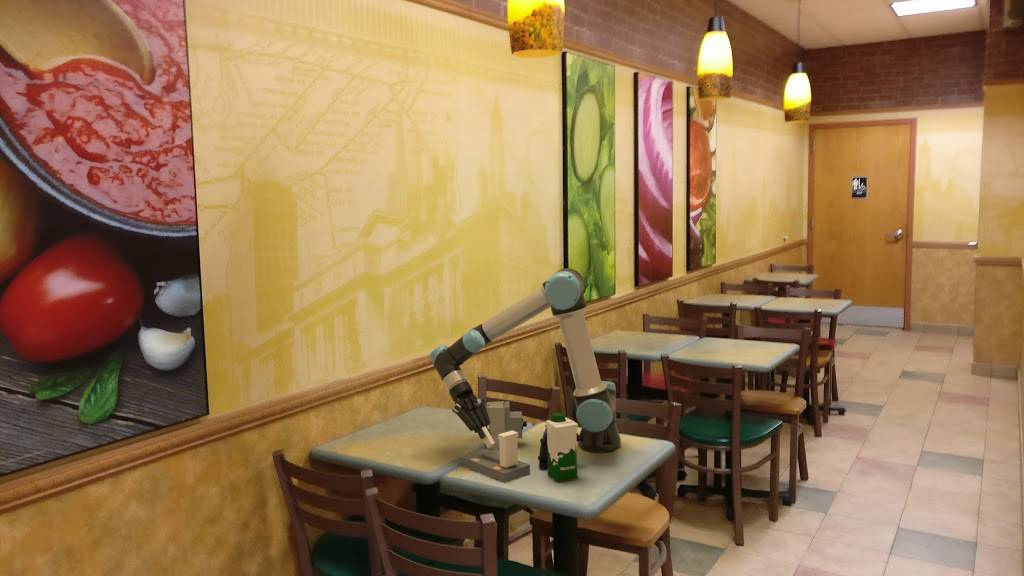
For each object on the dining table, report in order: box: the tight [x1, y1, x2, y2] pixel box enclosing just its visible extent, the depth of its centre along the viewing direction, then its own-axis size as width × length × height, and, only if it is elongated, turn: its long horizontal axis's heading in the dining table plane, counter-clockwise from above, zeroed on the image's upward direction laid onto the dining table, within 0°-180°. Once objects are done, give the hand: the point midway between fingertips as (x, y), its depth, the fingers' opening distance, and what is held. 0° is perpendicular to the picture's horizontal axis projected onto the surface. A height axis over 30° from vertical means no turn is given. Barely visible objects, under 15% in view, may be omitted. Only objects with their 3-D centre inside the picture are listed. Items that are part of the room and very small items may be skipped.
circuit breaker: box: [485, 401, 528, 450], centre depth 285 cm, size 8×14×15 cm, turn 89°
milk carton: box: [545, 411, 579, 483], centre depth 252 cm, size 9×9×20 cm
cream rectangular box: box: [498, 431, 519, 468], centre depth 256 cm, size 3×6×10 cm, turn 132°
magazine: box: [537, 424, 580, 471], centre depth 262 cm, size 4×13×15 cm, turn 99°
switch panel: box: [460, 448, 531, 484], centre depth 262 cm, size 22×11×3 cm, turn 42°
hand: (491, 445), depth 262 cm, fingers closed
